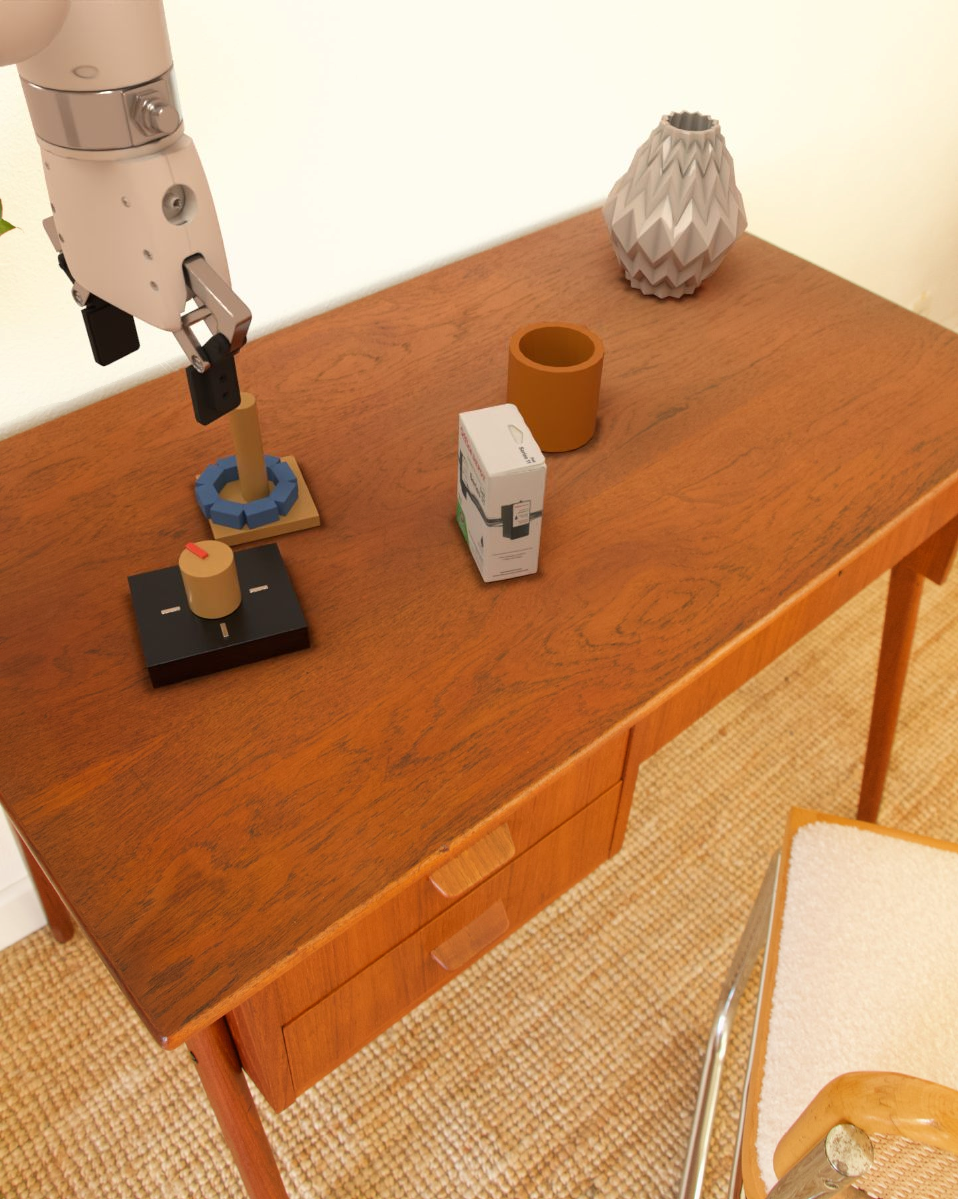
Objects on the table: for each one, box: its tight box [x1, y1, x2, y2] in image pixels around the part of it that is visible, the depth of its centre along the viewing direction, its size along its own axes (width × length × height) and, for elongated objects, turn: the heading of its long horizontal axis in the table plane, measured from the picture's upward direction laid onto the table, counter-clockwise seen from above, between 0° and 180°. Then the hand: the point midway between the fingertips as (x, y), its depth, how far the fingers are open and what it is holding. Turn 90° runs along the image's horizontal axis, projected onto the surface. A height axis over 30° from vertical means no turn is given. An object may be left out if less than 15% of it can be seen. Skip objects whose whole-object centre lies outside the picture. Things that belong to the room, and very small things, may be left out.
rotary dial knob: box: [178, 539, 242, 619], centre depth 77 cm, size 4×4×5 cm
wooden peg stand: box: [195, 391, 321, 547], centre depth 87 cm, size 9×9×11 cm
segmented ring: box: [193, 453, 298, 530], centre depth 89 cm, size 8×8×2 cm
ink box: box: [456, 403, 548, 583], centre depth 84 cm, size 9×5×12 cm, turn 17°
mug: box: [506, 321, 606, 453], centre depth 98 cm, size 9×12×9 cm
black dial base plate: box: [126, 542, 311, 689], centre depth 80 cm, size 12×10×3 cm
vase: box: [601, 109, 749, 300], centre depth 114 cm, size 16×16×18 cm
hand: (167, 384), depth 65 cm, fingers open, 9 cm apart
